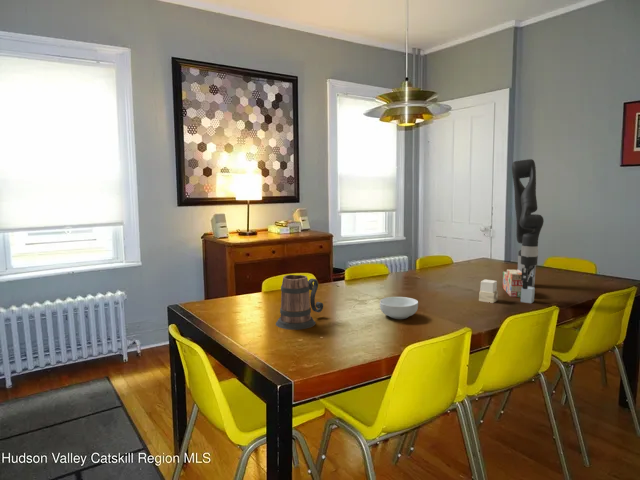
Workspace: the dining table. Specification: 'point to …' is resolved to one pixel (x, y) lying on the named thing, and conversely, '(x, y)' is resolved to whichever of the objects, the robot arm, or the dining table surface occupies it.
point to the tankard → (297, 302)
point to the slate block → (527, 295)
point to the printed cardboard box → (512, 282)
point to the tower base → (488, 296)
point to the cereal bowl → (398, 307)
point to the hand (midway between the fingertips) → (527, 287)
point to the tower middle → (488, 286)
